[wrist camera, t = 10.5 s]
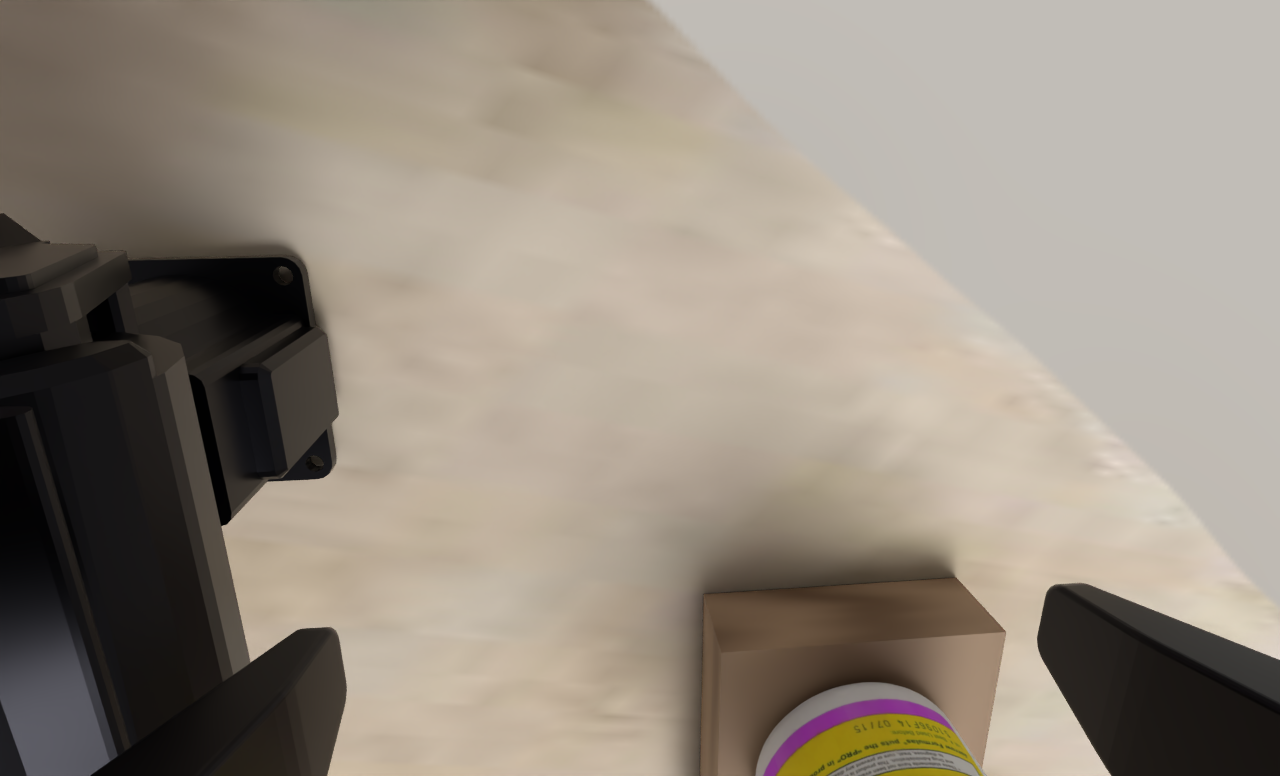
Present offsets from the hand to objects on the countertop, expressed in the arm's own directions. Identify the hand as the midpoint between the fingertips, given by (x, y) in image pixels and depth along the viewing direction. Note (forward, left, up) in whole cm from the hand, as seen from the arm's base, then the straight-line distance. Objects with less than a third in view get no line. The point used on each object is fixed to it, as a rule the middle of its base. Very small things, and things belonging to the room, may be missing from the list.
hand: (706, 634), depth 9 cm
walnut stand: (+7, -13, -13) cm, 20 cm away
